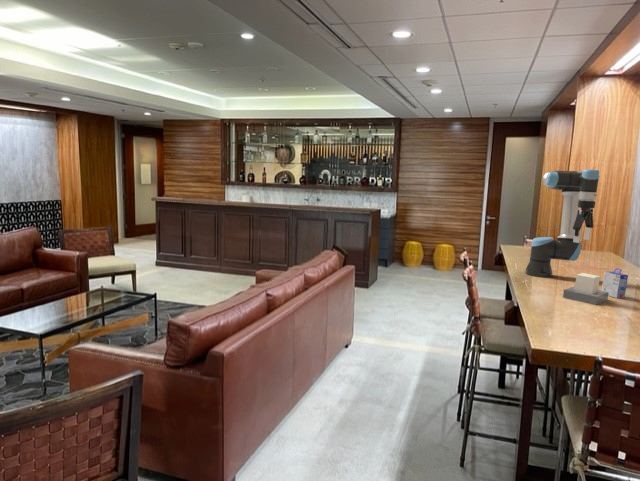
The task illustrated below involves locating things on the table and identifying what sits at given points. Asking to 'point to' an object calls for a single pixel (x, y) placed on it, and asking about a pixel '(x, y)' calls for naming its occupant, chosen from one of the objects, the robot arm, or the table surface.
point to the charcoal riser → (585, 296)
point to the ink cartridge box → (615, 283)
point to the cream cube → (587, 283)
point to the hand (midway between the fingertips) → (581, 241)
